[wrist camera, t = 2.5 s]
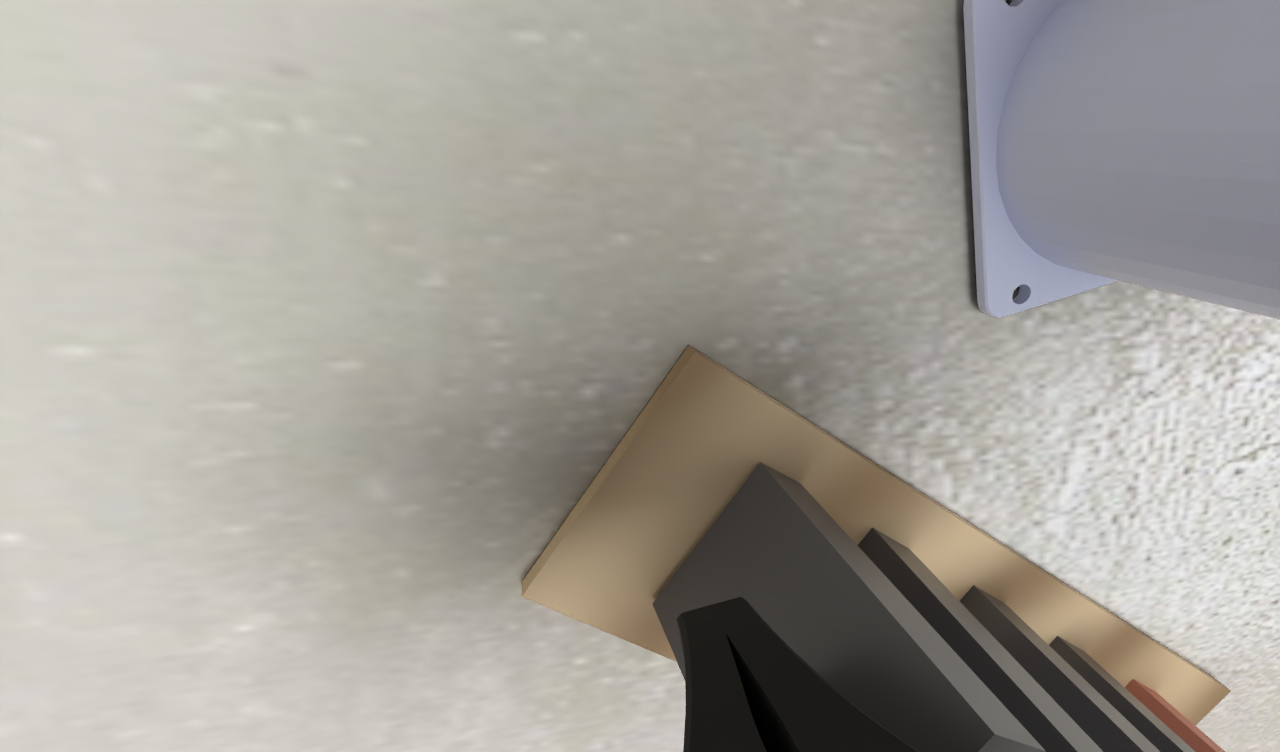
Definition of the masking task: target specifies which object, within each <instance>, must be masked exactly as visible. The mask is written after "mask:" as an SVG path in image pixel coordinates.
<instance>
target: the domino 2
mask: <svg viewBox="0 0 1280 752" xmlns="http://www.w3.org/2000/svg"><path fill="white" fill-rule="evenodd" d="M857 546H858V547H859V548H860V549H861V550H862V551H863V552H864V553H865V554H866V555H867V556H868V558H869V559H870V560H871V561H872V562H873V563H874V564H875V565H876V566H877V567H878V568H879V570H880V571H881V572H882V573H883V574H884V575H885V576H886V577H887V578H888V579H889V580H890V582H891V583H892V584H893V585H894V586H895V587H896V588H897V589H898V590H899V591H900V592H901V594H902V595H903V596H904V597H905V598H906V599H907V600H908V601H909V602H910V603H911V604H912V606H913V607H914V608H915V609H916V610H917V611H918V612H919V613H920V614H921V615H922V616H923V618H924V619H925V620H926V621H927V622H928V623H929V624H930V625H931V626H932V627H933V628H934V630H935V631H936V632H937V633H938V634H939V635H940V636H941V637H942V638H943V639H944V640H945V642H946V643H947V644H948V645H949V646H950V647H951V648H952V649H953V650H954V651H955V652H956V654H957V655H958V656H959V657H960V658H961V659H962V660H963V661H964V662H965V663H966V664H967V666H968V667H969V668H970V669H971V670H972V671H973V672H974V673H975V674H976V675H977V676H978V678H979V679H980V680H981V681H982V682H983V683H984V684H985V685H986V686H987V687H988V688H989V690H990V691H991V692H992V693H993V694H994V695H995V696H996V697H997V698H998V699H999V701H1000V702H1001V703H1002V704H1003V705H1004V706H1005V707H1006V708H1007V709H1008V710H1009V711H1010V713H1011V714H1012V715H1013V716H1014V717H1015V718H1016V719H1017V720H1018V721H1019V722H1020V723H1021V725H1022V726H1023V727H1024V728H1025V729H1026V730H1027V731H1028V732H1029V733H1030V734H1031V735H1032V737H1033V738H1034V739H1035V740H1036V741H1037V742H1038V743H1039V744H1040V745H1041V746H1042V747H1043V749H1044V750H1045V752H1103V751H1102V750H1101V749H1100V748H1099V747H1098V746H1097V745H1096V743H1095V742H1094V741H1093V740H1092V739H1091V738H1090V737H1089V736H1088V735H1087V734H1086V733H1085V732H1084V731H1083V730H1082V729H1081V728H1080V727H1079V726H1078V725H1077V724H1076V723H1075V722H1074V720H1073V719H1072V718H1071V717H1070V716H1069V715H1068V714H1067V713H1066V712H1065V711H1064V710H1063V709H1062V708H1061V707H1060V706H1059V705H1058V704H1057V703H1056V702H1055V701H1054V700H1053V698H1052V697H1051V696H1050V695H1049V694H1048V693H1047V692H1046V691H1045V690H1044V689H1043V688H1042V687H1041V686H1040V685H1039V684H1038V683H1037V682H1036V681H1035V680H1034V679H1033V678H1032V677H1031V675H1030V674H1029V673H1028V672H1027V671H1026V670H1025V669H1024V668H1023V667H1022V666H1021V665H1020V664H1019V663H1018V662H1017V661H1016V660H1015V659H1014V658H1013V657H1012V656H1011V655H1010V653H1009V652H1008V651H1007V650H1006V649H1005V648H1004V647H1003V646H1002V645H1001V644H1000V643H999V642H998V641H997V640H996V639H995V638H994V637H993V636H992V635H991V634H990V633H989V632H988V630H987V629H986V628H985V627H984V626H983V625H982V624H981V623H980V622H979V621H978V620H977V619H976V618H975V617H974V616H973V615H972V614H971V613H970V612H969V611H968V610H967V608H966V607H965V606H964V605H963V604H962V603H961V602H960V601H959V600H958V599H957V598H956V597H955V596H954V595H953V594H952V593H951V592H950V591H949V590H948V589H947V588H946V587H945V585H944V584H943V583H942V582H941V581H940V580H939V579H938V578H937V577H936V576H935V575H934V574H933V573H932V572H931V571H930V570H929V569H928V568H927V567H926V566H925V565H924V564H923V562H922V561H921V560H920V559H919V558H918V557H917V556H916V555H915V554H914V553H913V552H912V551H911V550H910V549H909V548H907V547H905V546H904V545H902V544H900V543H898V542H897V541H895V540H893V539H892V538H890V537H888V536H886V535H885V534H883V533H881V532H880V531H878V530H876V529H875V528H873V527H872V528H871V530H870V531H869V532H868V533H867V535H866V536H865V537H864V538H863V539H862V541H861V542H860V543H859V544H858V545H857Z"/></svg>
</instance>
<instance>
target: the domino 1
mask: <svg viewBox="0 0 1280 752" xmlns="http://www.w3.org/2000/svg"><path fill="white" fill-rule="evenodd" d="M738 597H742V598H744V599H745V600H747V601H748V603H749V604H750V605H751V606H752V607H753V609H754V610H755V611H756V612H757V613H758V614H759V616H760V617H761V618H762V619H763V620H764V621H765V622H766V623H767V624H768V625H769V626H770V627H771V629H772V630H773V631H774V632H775V633H776V634H777V635H778V636H779V637H780V638H781V639H782V640H783V641H784V642H785V643H786V644H787V645H788V646H789V647H790V648H791V649H792V650H793V651H794V652H795V653H796V654H797V655H799V656H800V657H801V658H802V659H803V660H804V661H805V662H806V663H807V664H808V665H809V666H810V667H811V668H813V669H814V670H815V671H816V672H817V673H818V674H819V675H820V676H821V677H822V678H824V679H825V680H826V681H827V682H828V683H829V684H831V685H832V686H833V687H834V688H835V689H836V690H838V691H839V692H840V693H841V694H842V695H844V696H845V697H846V698H847V699H849V700H850V701H851V702H852V703H853V704H855V705H856V706H857V707H858V708H860V709H861V710H862V711H864V712H865V713H866V714H867V715H869V716H870V717H871V718H873V719H874V720H875V721H877V722H878V723H879V724H881V725H882V726H884V727H885V728H886V729H888V730H889V731H890V732H892V733H893V734H895V735H896V736H897V737H899V738H900V739H902V740H903V741H905V742H906V743H908V744H909V745H911V746H912V747H914V748H915V749H917V750H918V751H920V752H1045V750H1044V749H1043V747H1042V746H1041V745H1040V744H1039V743H1038V742H1037V741H1036V740H1035V739H1034V738H1033V737H1032V735H1031V734H1030V733H1029V732H1028V731H1027V730H1026V729H1025V728H1024V727H1023V726H1022V725H1021V723H1020V722H1019V721H1018V720H1017V719H1016V718H1015V717H1014V716H1013V715H1012V714H1011V713H1010V711H1009V710H1008V709H1007V708H1006V707H1005V706H1004V705H1003V704H1002V703H1001V702H1000V701H999V699H998V698H997V697H996V696H995V695H994V694H993V693H992V692H991V691H990V690H989V688H988V687H987V686H986V685H985V684H984V683H983V682H982V681H981V680H980V679H979V678H978V676H977V675H976V674H975V673H974V672H973V671H972V670H971V669H970V668H969V667H968V666H967V664H966V663H965V662H964V661H963V660H962V659H961V658H960V657H959V656H958V655H957V654H956V652H955V651H954V650H953V649H952V648H951V647H950V646H949V645H948V644H947V643H946V642H945V640H944V639H943V638H942V637H941V636H940V635H939V634H938V633H937V632H936V631H935V630H934V628H933V627H932V626H931V625H930V624H929V623H928V622H927V621H926V620H925V619H924V618H923V616H922V615H921V614H920V613H919V612H918V611H917V610H916V609H915V608H914V607H913V606H912V604H911V603H910V602H909V601H908V600H907V599H906V598H905V597H904V596H903V595H902V594H901V592H900V591H899V590H898V589H897V588H896V587H895V586H894V585H893V584H892V583H891V582H890V580H889V579H888V578H887V577H886V576H885V575H884V574H883V573H882V572H881V571H880V570H879V568H878V567H877V566H876V565H875V564H874V563H873V562H872V561H871V560H870V559H869V558H868V556H867V555H866V554H865V553H864V552H863V551H862V550H861V549H860V548H859V547H858V546H857V544H856V543H855V542H854V541H853V540H852V539H851V538H850V537H849V536H848V535H847V534H846V532H845V531H844V530H843V529H842V528H841V527H840V526H839V525H838V524H837V523H836V522H835V520H834V519H833V518H832V517H831V516H830V515H829V514H828V513H827V512H826V511H825V510H824V508H823V507H822V506H821V505H820V504H819V503H818V502H817V501H816V500H815V499H814V498H813V496H812V495H811V494H810V493H809V492H808V491H807V490H806V489H805V488H804V487H803V486H802V484H800V483H798V482H797V481H795V480H793V479H791V478H789V477H787V476H785V475H783V474H782V473H780V472H778V471H776V470H774V469H772V468H770V467H768V466H767V465H765V464H763V463H761V462H760V463H759V464H758V466H757V467H756V468H755V470H754V471H753V472H752V474H751V475H750V476H749V478H748V479H747V480H746V482H745V483H744V484H743V485H742V487H741V488H740V489H739V491H738V492H737V493H736V495H735V496H734V497H733V499H732V500H731V501H730V503H729V504H728V505H727V506H726V508H725V509H724V510H723V512H722V513H721V514H720V516H719V517H718V518H717V520H716V521H715V522H714V524H713V525H712V526H711V527H710V529H709V530H708V531H707V533H706V534H705V535H704V537H703V538H702V539H701V541H700V542H699V543H698V545H697V546H696V547H695V548H694V550H693V551H692V552H691V554H690V555H689V556H688V558H687V559H686V560H685V562H684V563H683V564H682V566H681V567H680V568H679V569H678V571H677V572H676V573H675V575H674V576H673V577H672V579H671V580H670V581H669V583H668V584H667V585H666V587H665V588H664V589H663V590H662V592H661V593H660V594H659V596H658V597H657V598H656V600H655V601H654V602H653V607H654V609H655V611H656V614H657V616H658V618H659V621H660V623H661V625H662V628H663V630H664V632H665V635H666V637H667V639H668V642H669V644H670V646H671V649H672V651H673V653H674V656H675V658H676V660H677V663H678V665H679V667H680V670H681V672H682V674H683V677H684V679H685V681H686V673H685V660H684V655H683V650H682V645H681V640H680V635H679V629H678V624H677V618H678V616H679V615H680V614H681V613H683V612H686V611H690V610H694V609H697V608H701V607H705V606H708V605H712V604H716V603H719V602H723V601H727V600H730V599H734V598H738Z"/></svg>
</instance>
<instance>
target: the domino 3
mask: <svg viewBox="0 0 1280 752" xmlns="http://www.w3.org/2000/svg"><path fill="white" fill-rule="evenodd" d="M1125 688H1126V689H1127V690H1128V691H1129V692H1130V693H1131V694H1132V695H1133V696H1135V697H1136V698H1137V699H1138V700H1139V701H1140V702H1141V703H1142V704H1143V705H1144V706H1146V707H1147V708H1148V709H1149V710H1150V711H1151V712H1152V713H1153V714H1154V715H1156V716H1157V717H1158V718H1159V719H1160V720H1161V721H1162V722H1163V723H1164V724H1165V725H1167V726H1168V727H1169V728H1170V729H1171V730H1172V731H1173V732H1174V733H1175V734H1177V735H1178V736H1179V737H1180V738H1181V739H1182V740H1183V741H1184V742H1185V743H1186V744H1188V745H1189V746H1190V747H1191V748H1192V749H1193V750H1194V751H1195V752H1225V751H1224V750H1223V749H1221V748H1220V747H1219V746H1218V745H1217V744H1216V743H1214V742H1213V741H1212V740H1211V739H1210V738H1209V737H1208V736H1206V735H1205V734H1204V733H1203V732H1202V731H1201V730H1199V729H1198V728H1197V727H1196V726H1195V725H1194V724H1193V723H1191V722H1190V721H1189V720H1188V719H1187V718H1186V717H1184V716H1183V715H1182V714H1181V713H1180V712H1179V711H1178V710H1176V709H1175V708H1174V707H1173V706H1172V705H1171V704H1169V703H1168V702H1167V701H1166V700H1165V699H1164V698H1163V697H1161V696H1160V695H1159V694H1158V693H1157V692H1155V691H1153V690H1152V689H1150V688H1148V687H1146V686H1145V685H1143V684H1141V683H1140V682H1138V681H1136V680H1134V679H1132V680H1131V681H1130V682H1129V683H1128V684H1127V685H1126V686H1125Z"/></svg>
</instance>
